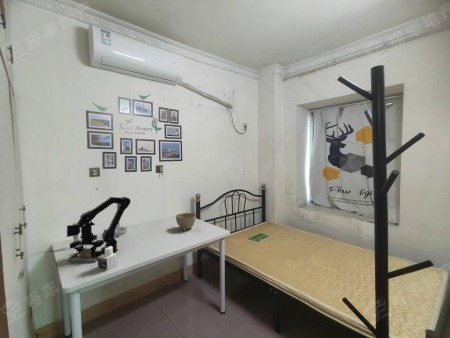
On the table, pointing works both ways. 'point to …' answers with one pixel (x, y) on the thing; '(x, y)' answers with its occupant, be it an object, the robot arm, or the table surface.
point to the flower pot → (185, 220)
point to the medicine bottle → (107, 258)
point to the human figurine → (75, 235)
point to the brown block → (86, 253)
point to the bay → (77, 259)
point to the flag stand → (120, 229)
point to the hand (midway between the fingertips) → (87, 256)
